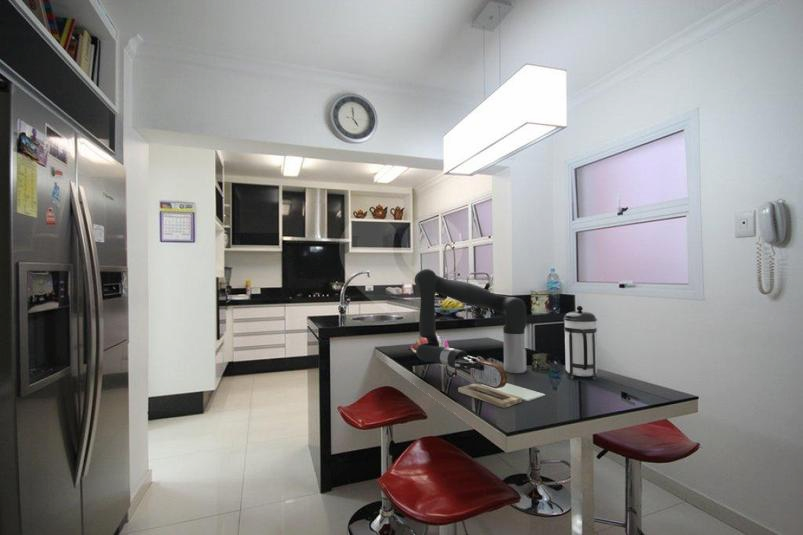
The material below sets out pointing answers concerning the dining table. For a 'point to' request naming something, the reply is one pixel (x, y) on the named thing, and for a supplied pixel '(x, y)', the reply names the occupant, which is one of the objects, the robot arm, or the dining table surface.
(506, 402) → the slot holder
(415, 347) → the candy landscape model
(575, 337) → the coffee press
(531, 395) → the mat
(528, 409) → the dining table surface
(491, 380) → the tin
